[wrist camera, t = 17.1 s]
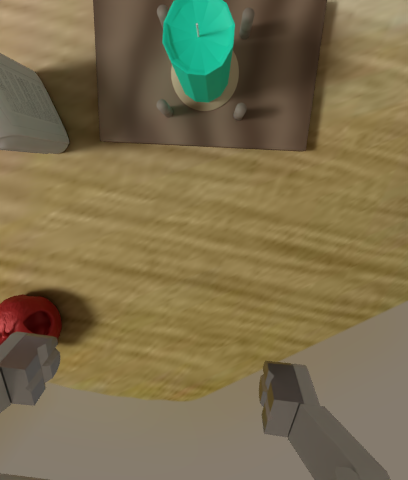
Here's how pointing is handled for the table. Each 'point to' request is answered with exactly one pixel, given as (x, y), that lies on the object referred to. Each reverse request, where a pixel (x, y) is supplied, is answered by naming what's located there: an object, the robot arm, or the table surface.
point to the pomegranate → (29, 316)
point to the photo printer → (27, 112)
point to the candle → (200, 46)
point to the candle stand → (239, 84)
